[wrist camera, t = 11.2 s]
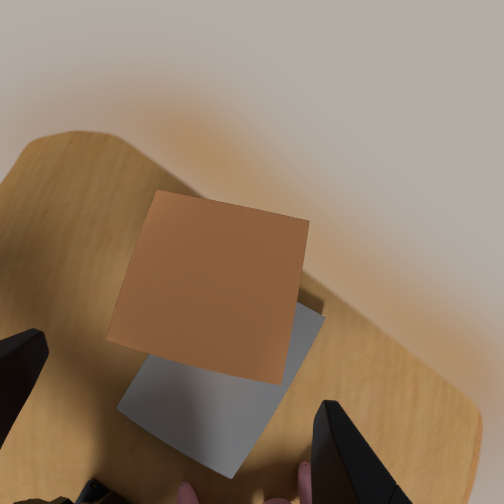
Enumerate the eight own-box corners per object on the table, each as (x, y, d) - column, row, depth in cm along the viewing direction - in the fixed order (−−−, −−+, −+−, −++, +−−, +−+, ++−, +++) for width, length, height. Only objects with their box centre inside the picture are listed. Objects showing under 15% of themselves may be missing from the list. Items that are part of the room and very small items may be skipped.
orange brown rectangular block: (257, 381, 19) (280, 385, 10) (162, 358, 19) (105, 339, 10) (276, 289, 22) (309, 220, 12) (186, 269, 22) (157, 189, 13)
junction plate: (231, 472, 18) (231, 494, 14) (122, 407, 19) (98, 412, 15) (319, 321, 23) (339, 307, 18) (214, 262, 24) (211, 236, 20)
